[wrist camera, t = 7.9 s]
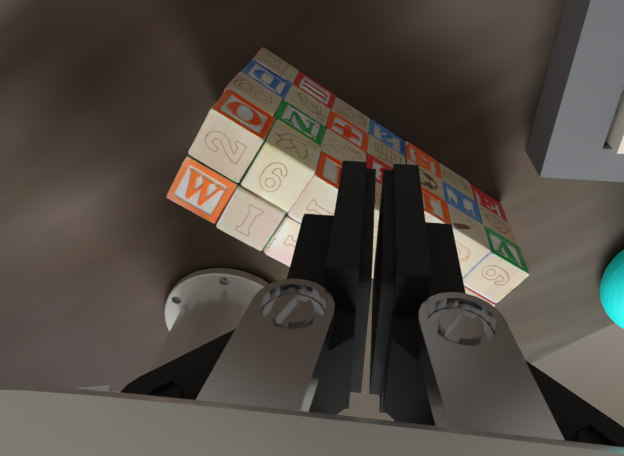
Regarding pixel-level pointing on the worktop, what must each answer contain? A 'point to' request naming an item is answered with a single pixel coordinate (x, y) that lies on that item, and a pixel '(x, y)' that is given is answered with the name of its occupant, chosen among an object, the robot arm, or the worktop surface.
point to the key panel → (581, 95)
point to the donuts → (614, 289)
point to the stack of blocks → (324, 173)
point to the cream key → (617, 128)
